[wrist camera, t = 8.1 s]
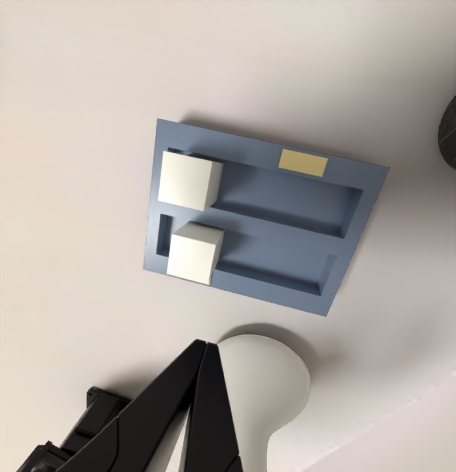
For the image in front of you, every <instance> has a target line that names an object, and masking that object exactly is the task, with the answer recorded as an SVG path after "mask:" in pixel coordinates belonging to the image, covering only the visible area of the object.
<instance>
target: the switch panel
mask: <svg viewBox="0 0 456 472" xmlns="http://www.w3.org/2000/svg"><path fill="white" fill-rule="evenodd" d="M163 151H166V152H172V153H177V154H182V155H187V156H191V157H196V158H200V159H205V160H209V161H214V162H219V163H223V164H224V165H223V170H222V175H221V181H220V186H219V191H218V196H217V201H216V202H215V203H214V204H212V205H211V206H210V207H209V208H207V209H206V210H205V211H200V210H196V209H192V208H188V207H183V206H179V205H175V204H171V203H167V202H162V201H158V197H159V187H160V178H161V168H162V159H163ZM389 169H390V168H389V167H384V166H379V165H375V164H370V163H365V162H361V161H356V160H351V159H346V158H342V157H337V156H332V155H328V154H323V153H318V152H313V151H309V150H304V149H299V148H295V147H290V146H285V145H280V144H276V143H271V142H266V141H262V140H257V139H252V138H247V137H243V136H238V135H233V134H229V133H224V132H219V131H214V130H210V129H205V128H200V127H196V126H191V125H186V124H181V123H177V122H172V121H167V120H163V119H158V118H157V126H156V137H155V148H154V158H153V169H152V180H151V190H150V201H149V212H148V223H147V233H146V244H145V255H144V265H143V269H145V270H149V271H152V272H156V273H160V274H164V275H168V276H172V277H175V278H179V279H183V280H187V281H191V282H195V283H198V284H202V285H206V286H210V287H214V288H218V289H221V290H225V291H229V292H233V293H237V294H241V295H244V296H248V297H252V298H256V299H260V300H264V301H267V302H271V303H275V304H279V305H283V306H287V307H290V308H294V309H298V310H302V311H306V312H310V313H313V314H317V315H321V316H325V317H326V316H327V313H328V311H329V309H330V306H331V304H332V302H333V299H334V297H335V295H336V292H337V290H338V288H339V285H340V283H341V281H342V278H343V276H344V274H345V271H346V269H347V267H348V264H349V262H350V260H351V257H352V255H353V253H354V250H355V248H356V246H357V243H358V241H359V239H360V236H361V234H362V232H363V229H364V227H365V225H366V222H367V220H368V218H369V215H370V213H371V211H372V208H373V206H374V204H375V201H376V199H377V197H378V194H379V192H380V190H381V187H382V185H383V183H384V180H385V178H386V176H387V173H388V171H389ZM189 221H194V222H198V223H202V224H206V225H210V226H214V227H219V228H223V229H225V233H224V238H223V242H222V247H221V252H220V256H219V260H218V263H217V265H216V267H215V269H214V272H213V274H212V276H211V278H210V281H209V283H208V284H204V283H200V282H196V281H193V280H189V279H185V278H181V277H177V276H173V275H169V274H167V268H168V260H169V253H170V245H171V238H172V234H173V233H174V232H176V231H177V230H178V229H180V228H181V227H182V226H184V225H185V224H186V223H188V222H189Z"/></svg>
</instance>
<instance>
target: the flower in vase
mask: <svg viewBox="0 0 456 472" xmlns="http://www.w3.org/2000/svg"><path fill="white" fill-rule="evenodd" d="M217 345H218V347H219V352H220V357H221V362H222V367H223V372H224V377H225V382H226V387H227V392H228V397H229V402H230V407H231V412H232V417H233V422H234V427H235V432H236V436H237V442H238V447H239V452H240V453H239V456H240V457H241V461H242V466H243V471H244V472H267V446H268V441H269V438H270V436H271V435H272V433H274V432H275V431H276V430H278V429H280V428H282V427H283V426H285V425H286V424H288V423H289V422H291V421H292V420H293V419H294V418H295V417H296V416H297V415H298V414H299V413H300V412H301V411H302V409H303V408H304V407H305V405H306V403H307V401H308V397H309V392H310V385H311V381H310V375H309V371H308V369H307V367H306V365H305V364H304V362H303V360H302V359H301V358H300V357H299V356H298V355H297V354H296V353H295V352H294V351H293V350H291V349H290V348H289V347H287V346H286V345H284V344H283V343H281V342H279V341H277V340H275V339H272V338H269V337H265V336H261V335H252V334H248V335H238V336H234V337H230V338H228V339H226V340H224V341H222V342H220V343H219V344H217Z"/></svg>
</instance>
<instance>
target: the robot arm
mask: <svg viewBox="0 0 456 472" xmlns="http://www.w3.org/2000/svg"><path fill="white" fill-rule="evenodd" d="M189 408H190V409H189ZM188 411H189V414H188ZM187 414H188V419H187V425H186V431H185V436H184V442H183V448H182V454H181V460H180V466H179V471H178V472H244V471H243V466H242V461H241V457H240V456H239V453H240V452H239V447H238V442H237V437H236V432H235V427H234V422H233V417H232V412H231V407H230V402H229V397H228V392H227V387H226V382H225V377H224V372H223V367H222V362H221V357H220V352H219V347H218V345H217V344H214V343H210V342H208V343H206V341H203V340H199V339H196V340H194V341H193V342H192V343H191V344H190V345H189V346H188V347H187V348H186V349H185V350H184V351H183V352H182V353H181V354H180V355H179V356H178V357H177V358H176V359H175V360H174V361H173V362H172V363H171V364H170V365H169V366H168V367H167V368H166V369H165V370H164V371H162V372H161V373H160V374H159V375H158V376H157V377H156V378H155V379H154V380H153V381H152V382H151V383H150V384H149V385H148V386H147V387H146V388H145V389H144V390H143V391H142V392H141V393H140V394H139V395H138V396H137V397H136V398H135V399H134V400H133V401H132V400H129V399H125V398H122V397H119V396H116V395H112V394H109V393H106V392H102V391H99V390H96V389H92V388H90V389H89V390H88V391H87V409H86V411H85V412H84V413H83V415H82V416H81V418H80V419H79V420H78V422H77V423H76V425H75V426H74V427H73V429H72V430H71V432H70V433H69V434H68V436H67V437H66V438H65V440H64V441H63V443H62V444H61V445H60V447H59V448H58V447H56V446H55V445H53V444H52V442H50V441H48V442H47V443H46V444H45V445H38V446H37V447H36V448H35V450H34V451H33V452H32V453H31V455H30V456H29V457H28V458H27V459H26V461H25V462H24V463H23V464H22V466H21V467H20V468H19V469H18V470H17V471H16V472H165V471H166V468H167V466H168V463H169V461H170V458H171V455H172V453H173V450H174V448H175V445H176V443H177V440H178V438H179V435H180V432H181V430H182V427H183V425H184V422H185V420H186V417H187Z"/></svg>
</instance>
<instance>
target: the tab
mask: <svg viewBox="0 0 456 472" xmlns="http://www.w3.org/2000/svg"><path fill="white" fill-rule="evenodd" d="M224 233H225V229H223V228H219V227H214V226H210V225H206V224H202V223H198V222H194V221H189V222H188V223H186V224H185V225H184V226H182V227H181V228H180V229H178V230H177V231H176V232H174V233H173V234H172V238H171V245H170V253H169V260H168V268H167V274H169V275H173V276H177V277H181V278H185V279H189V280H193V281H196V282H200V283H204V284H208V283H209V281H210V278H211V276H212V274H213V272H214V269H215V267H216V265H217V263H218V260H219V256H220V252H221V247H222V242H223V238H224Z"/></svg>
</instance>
